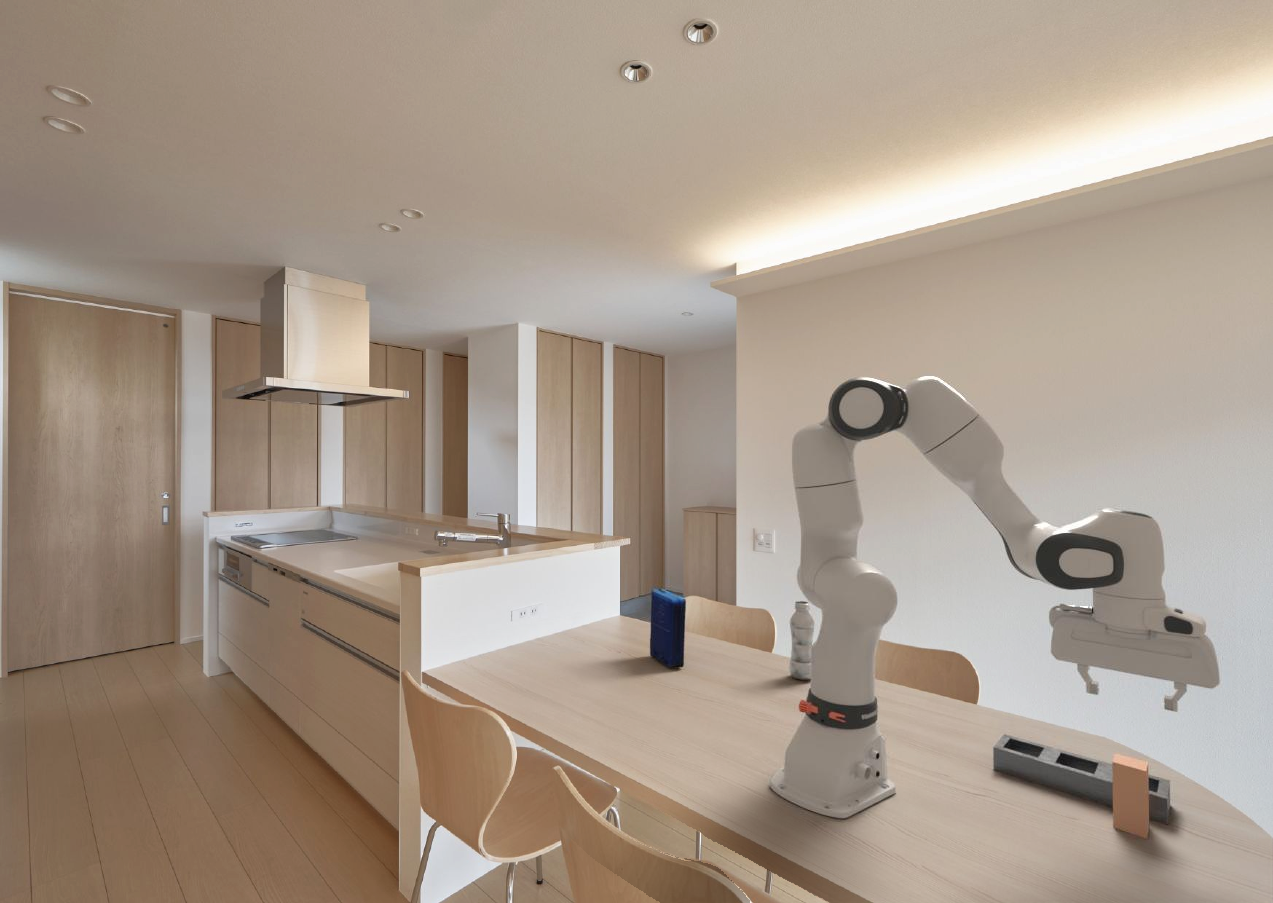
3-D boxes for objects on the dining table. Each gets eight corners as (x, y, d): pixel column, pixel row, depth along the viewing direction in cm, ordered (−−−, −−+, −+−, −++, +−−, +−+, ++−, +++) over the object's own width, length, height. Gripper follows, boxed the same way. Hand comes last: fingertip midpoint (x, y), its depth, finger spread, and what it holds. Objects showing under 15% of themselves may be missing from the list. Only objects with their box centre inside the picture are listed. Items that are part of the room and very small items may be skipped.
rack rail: (1167, 824, 92) (1167, 798, 92) (993, 769, 109) (993, 747, 109) (1170, 804, 98) (1169, 780, 98) (1004, 754, 115) (1004, 734, 115)
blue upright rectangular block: (646, 656, 173) (647, 588, 173) (662, 654, 175) (663, 586, 176) (669, 672, 160) (670, 597, 160) (686, 669, 162) (687, 596, 163)
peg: (1147, 838, 89) (1146, 771, 89) (1113, 827, 92) (1112, 761, 92) (1149, 827, 92) (1148, 762, 92) (1116, 816, 94) (1115, 753, 95)
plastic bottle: (809, 674, 160) (809, 599, 160) (818, 682, 153) (818, 605, 154) (786, 673, 160) (786, 599, 160) (793, 682, 153) (793, 605, 154)
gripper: (1045, 604, 98) (1046, 689, 97) (1218, 628, 83) (1221, 727, 83) (1052, 599, 102) (1054, 679, 102) (1218, 620, 88) (1220, 714, 87)
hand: (1130, 701), depth 92 cm, fingers open, 8 cm apart
